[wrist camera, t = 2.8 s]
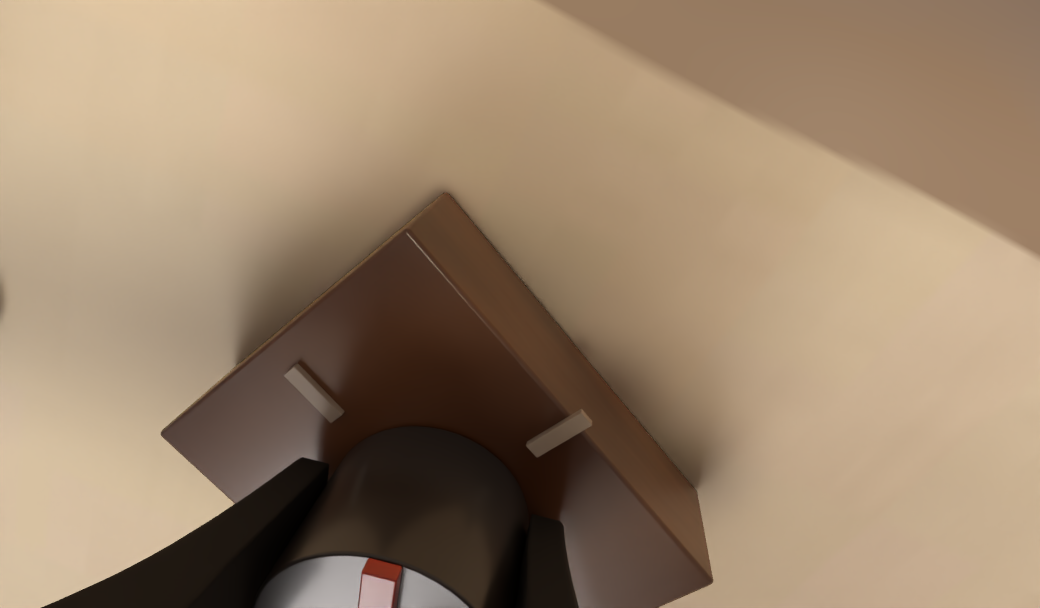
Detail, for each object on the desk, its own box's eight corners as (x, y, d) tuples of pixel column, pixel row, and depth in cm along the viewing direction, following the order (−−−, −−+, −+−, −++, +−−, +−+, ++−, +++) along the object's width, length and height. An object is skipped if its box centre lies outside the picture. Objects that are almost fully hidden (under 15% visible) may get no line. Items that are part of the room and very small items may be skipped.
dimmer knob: (509, 603, 14) (476, 782, 11) (328, 557, 15) (240, 718, 11) (548, 453, 13) (522, 611, 9) (341, 403, 13) (239, 538, 9)
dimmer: (225, 375, 17) (145, 444, 14) (457, 181, 14) (414, 219, 11) (464, 609, 19) (437, 711, 16) (708, 487, 16) (729, 584, 13)
